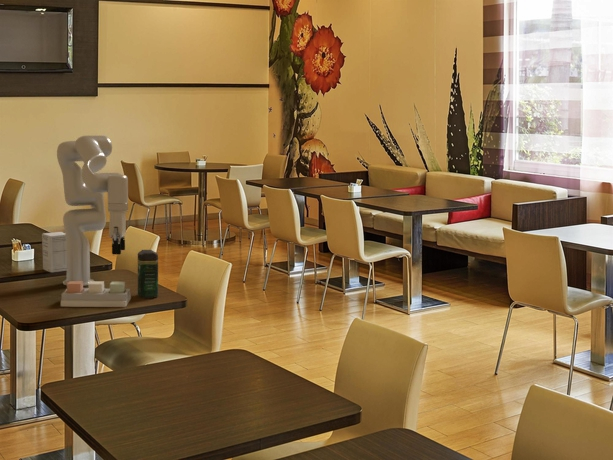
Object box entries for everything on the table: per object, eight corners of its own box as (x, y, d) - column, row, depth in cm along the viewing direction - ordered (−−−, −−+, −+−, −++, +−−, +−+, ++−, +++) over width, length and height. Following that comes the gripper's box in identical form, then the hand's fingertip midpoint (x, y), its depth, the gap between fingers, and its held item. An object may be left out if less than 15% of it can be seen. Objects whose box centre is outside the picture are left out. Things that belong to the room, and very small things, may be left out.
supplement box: (62, 267, 383) (61, 231, 381) (70, 270, 376) (70, 234, 374) (42, 269, 377) (41, 233, 375) (50, 272, 370) (49, 235, 368)
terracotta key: (70, 290, 317) (69, 281, 317) (83, 290, 318) (83, 281, 317) (67, 292, 313) (66, 283, 312) (80, 293, 313) (80, 284, 312)
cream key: (91, 290, 318) (90, 281, 317) (104, 290, 318) (104, 281, 318) (88, 293, 313) (88, 284, 313) (101, 293, 313) (101, 284, 313)
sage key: (112, 290, 318) (112, 281, 318) (125, 290, 319) (125, 281, 318) (109, 293, 314) (109, 284, 313) (123, 293, 314) (123, 284, 313)
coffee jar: (159, 298, 326) (159, 252, 323) (139, 299, 323) (139, 252, 321) (156, 293, 335) (155, 247, 332) (136, 294, 332) (136, 248, 330)
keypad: (68, 298, 322) (68, 287, 321) (130, 299, 323) (130, 287, 323) (60, 306, 309) (60, 294, 308) (125, 306, 311) (125, 295, 310)
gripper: (111, 204, 320) (112, 248, 322) (103, 210, 303) (104, 255, 305) (131, 205, 320) (132, 248, 322) (124, 210, 303) (125, 256, 305)
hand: (118, 252), depth 314 cm, fingers open, 9 cm apart
